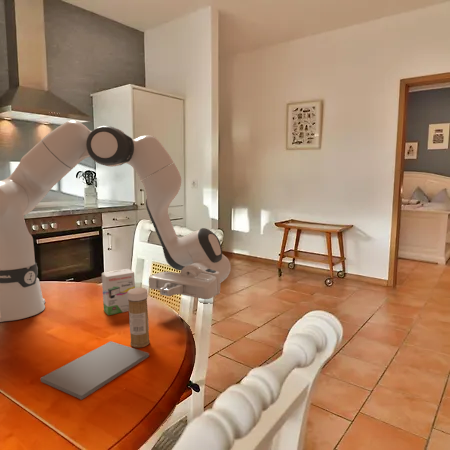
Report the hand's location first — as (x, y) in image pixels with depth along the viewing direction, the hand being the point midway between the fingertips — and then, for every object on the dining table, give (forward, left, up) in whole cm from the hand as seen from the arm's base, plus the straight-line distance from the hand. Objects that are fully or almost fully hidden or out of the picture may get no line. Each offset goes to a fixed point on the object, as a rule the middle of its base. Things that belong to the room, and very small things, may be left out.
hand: (164, 292), depth 95 cm
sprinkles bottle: (-2, -10, -10) cm, 14 cm away
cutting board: (-4, -22, -10) cm, 24 cm away
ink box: (-20, +7, -10) cm, 23 cm away
